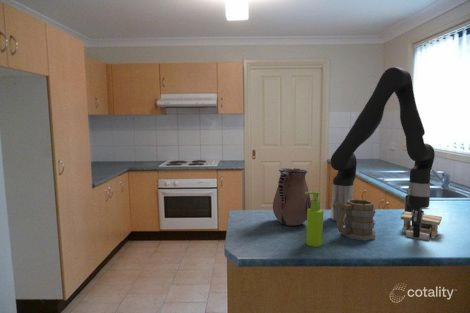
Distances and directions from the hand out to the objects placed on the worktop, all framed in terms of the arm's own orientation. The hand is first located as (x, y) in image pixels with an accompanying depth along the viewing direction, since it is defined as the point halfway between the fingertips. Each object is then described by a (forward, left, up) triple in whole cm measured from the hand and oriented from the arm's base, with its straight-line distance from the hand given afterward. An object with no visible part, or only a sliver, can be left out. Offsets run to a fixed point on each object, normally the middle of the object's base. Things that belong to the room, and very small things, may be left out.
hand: (416, 236), depth 130 cm
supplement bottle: (+16, +45, -1) cm, 48 cm away
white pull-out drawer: (+4, +8, -1) cm, 9 cm away
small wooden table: (+6, +11, -1) cm, 12 cm away
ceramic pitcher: (-49, +14, -1) cm, 51 cm away
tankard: (-25, +1, -1) cm, 25 cm away
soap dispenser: (-42, -11, -1) cm, 43 cm away
